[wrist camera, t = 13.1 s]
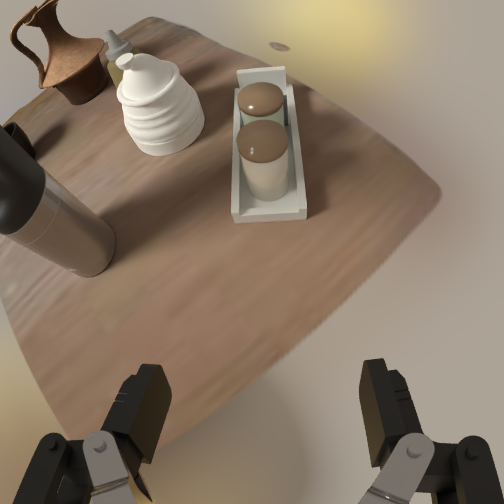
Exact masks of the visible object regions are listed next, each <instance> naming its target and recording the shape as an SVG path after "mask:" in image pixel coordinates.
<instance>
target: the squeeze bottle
mask: <svg viewBox="0 0 504 504" xmlns="http://www.w3.org/2000/svg"><path fill="white" fill-rule="evenodd" d="M106 37H107V41H108V45H109V49H108V50H107V52H106V56H107V58H108V60H109V63H108V66H107V69H108V71H109V73H110V75H111V78H112V80H113V82H114V84H115V87H116V89H118V86H119V84H120V82H121V81H122V80H123V73H124V70H122V69H120V68H119V67H118V66H117V65H116V63H115V62H116V60H117V59H118V58H119V57H120V56H122V55H123V54H126V53H132V54H133V56H134V55H136V54H140V53H142V52H141V51H140V49H138V48H133V47H132V45H131V43H130V41H129V40H124V41H122V40H121V39H120V38H119V37H118V36H117V35H116V34H115V33H114V32H113V30H109V31H107V32H106Z"/></svg>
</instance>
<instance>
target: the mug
mask: <svg viewBox="0 0 504 504" xmlns="http://www.w3.org/2000/svg"><path fill="white" fill-rule="evenodd" d="M3 129H4V130H5V131H6V132H7V133H8V134H9V135H10V136H11V137H12V139H13V140H14V141H15V142H16V143H18V144H19V145H20V146H21V147H22V148H23V149H24V150H25V151H26V152H27V153H28V154H29V155H30V156H31V157H32V158H33V159H34V157H35V151H34V149H33V147H32V145H31V143H30V141H29V139H28V137H27V136H26V134H25V133H24V131H23V130H22V129H21V128H20V127H19V126H18V125H17V124H16V123H15V122H11V123H9V124H7V125H6V126H5V127H4V128H3Z"/></svg>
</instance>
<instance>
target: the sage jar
mask: <svg viewBox="0 0 504 504" xmlns="http://www.w3.org/2000/svg"><path fill="white" fill-rule="evenodd" d="M237 101H238V105H239V108H240V111H241V115H242V120H243V124H244V126H245V125H246V124H248V123H250V122H252V121H256V120H272V121H275V122H277V123H279V124H281V125H282V126H283V127H284V128H285V126H284V111H283V102H284V100H283V92H282V90H281V89H280V88H279V87H278V86H277V85H275V84H272V83H268V82H257V83H252V84H250V85H247V86H246V87H244V88H243V89H242V90H241V91H240V92H239V93H238V96H237Z"/></svg>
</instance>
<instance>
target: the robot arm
mask: <svg viewBox="0 0 504 504" xmlns="http://www.w3.org/2000/svg"><path fill="white" fill-rule="evenodd" d="M0 233H1V234H3V235H5V236H6V237H8V238H10V239H11V240H13V241H15V242H17V243H19V244H21V245H22V246H24V247H26V248H28V249H30V250H31V251H33V252H35V253H37V254H39V255H41V256H42V257H44V258H46V259H48V260H50V261H52V262H54V263H56V264H58V265H60V266H61V267H63V268H65V269H67V270H69V271H71V272H73V273H75V274H77V275H79V276H81V277H93V276H95V275H97V274H99V273H101V272H102V271H103V270H104V269H105V268H106V267H107V265H108V264H109V263H110V261H111V259H112V257H113V254H114V251H115V245H116V244H115V235H114V232H113V230H112V229H111V227H110V226H109V225H108V224H106V223H105V222H104V221H103V220H102V219H100V218H99V217H98V216H97V215H96V214H95V213H93V212H92V211H91V210H90V209H89V208H88V207H86V206H85V205H84V204H83V203H82V202H81V201H79V200H78V199H77V198H76V197H75V196H74V195H73V194H71V193H70V192H69V191H68V190H67V189H66V188H65V187H63V186H62V185H61V184H60V183H59V182H58V181H57V180H56V179H54V178H53V177H52V176H51V175H50V174H49V173H48V172H47V171H46V170H44V169H43V168H42V167H41V166H40V165H39V164H38V163H37V162H36V161H35V160H34V159H33V158H32V157H31V156H30V155H29V154H28V153H27V152H26V151H25V150H24V149H23V148H22V147H21V146H20V145H19V144H18V143H16V142H15V141H14V140H13V139H12V137H11V136H10V135H9V134H8V133H7V132H6V131H5V130H4V129H3V127H2V126H1V125H0ZM118 393H119V394H117V396H116V398H115V402H114V403H113V405H112V407H111V409H110V411H109V413H108V415H107V417H106V419H105V421H104V424H103V426H102V428H101V430H100V431H95V432H93V433H91V434H89V435H88V436H87V437H86V439H85V440H71V441H67V440H66V439H65V438H64V437H63V436H62V435H61V434H59V433H49V434H47V435H45V436H44V437H43V438H42V439H41V441H40V442H39V444H38V446H37V449H36V451H35V453H34V455H33V457H32V459H31V462H30V464H29V466H28V468H27V470H26V473H25V475H24V477H23V480H22V482H21V484H20V487H19V489H18V491H17V494H16V496H15V499H14V502H13V504H89V502H90V499H91V497H92V500H93V503H94V504H156V502H155V500H154V498H153V496H152V494H151V492H150V490H149V488H148V486H147V484H146V482H145V480H144V478H143V476H142V473H141V471H140V470H139V468H140V465H141V463H146V464H151V462H152V458H153V455H154V452H155V449H156V446H157V443H158V440H159V437H160V434H161V431H162V428H163V425H164V422H165V418H166V415H167V412H168V409H169V406H170V403H171V399H172V392H171V388H170V386H169V383H168V381H167V378H166V376H165V373H164V371H163V368H162V366H161V365H156V364H142V365H141V366H140V368H139V370H138V372H137V374H136V375H131V376H130V377H129V378H128V379H127V380H126V381H124V382H123V384H122V386H121V388H120V390H119V392H118ZM359 399H360V404H361V409H362V414H363V419H364V425H365V430H366V436H367V441H368V447H369V453H370V459H371V466H372V468H373V467H379V466H380V470H381V472H380V473H379V475H378V476H377V478H376V479H375V481H374V482H373V484H372V485H371V487H370V488H369V489H368V490H367V492H366V493H365V494H364V496H363V497H362V499H361V500H360V502H359V503H358V504H409V502H410V500H411V498H412V496H413V494H414V492H423V493H431V497H432V504H504V498H503V494H502V490H501V486H500V482H499V479H498V475H497V471H496V468H495V464H494V461H493V457H492V454H491V451H490V448H489V445H488V443H487V442H486V441H485V440H484V439H483V438H481V437H479V436H468V437H465V438H464V439H462V440H461V441H460V442H459V443H458V444H450V443H449V444H448V443H437V442H434V441H432V440H431V439H430V438H429V437H428V436H426V435H425V434H424V433H423V431H422V429H421V425H420V422H419V419H418V416H417V413H416V410H415V407H414V404H413V401H412V400H411V395H410V392H409V391H408V386H407V383H406V381H405V378H404V377H403V376H402V375H401V374H400V373H399V372H398V371H397V370H390V371H388V370H387V367H386V364H385V361H384V359H383V358H380V359H372V360H365V361H364V363H363V368H362V374H361V380H360V385H359ZM63 476H64V477H63ZM62 478H63V479H62ZM61 481H62V482H61ZM60 483H61V485H60ZM59 486H60V487H59ZM58 489H59V490H58ZM57 492H58V493H57Z"/></svg>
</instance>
